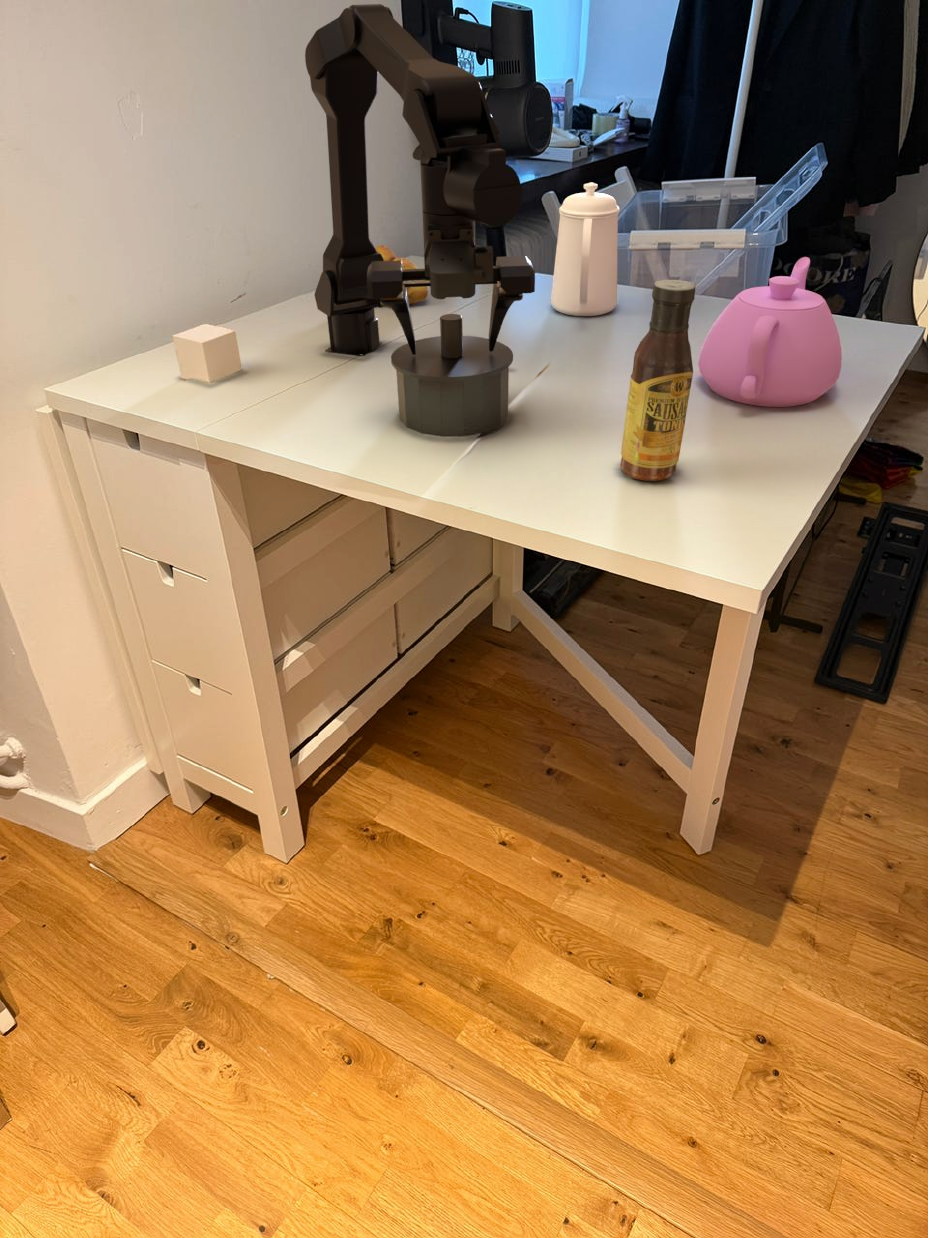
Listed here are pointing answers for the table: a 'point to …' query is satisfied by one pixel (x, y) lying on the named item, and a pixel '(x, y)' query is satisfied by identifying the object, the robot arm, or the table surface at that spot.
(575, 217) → the coffeepot
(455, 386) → the pot
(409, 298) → the bread roll
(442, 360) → the lid
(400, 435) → the table surface
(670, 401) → the sauce bottle
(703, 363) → the teapot
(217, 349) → the beige cube
